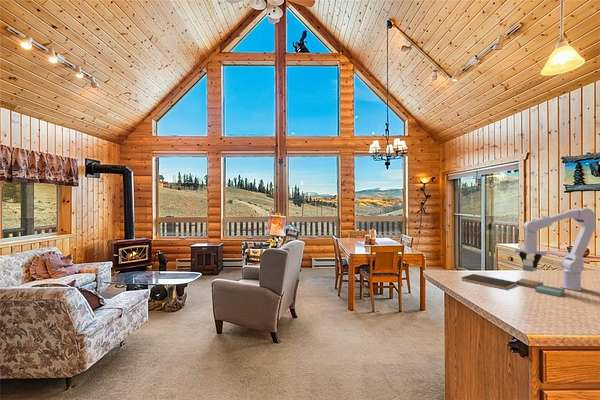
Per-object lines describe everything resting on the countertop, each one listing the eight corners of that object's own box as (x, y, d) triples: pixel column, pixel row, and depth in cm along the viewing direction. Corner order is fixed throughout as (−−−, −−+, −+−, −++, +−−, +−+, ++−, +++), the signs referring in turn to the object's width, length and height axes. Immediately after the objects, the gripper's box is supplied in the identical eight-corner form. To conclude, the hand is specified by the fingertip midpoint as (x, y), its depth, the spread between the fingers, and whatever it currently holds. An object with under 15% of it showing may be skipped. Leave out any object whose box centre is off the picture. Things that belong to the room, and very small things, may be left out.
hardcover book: (504, 290, 169) (505, 286, 169) (460, 281, 187) (461, 277, 187) (516, 286, 179) (516, 281, 179) (473, 277, 197) (473, 273, 197)
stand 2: (541, 288, 172) (541, 284, 172) (564, 293, 165) (564, 289, 165) (535, 291, 166) (535, 287, 166) (559, 296, 158) (559, 292, 158)
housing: (527, 268, 183) (527, 257, 183) (537, 269, 180) (537, 259, 180) (522, 270, 178) (523, 259, 178) (532, 271, 174) (532, 260, 174)
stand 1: (522, 282, 186) (522, 278, 186) (543, 285, 178) (543, 282, 178) (516, 284, 180) (516, 281, 180) (537, 288, 172) (537, 285, 172)
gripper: (513, 241, 182) (512, 265, 182) (544, 244, 171) (543, 270, 171) (517, 240, 186) (516, 264, 186) (548, 243, 175) (547, 268, 175)
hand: (530, 267), depth 179 cm, fingers closed on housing, 4 cm apart
